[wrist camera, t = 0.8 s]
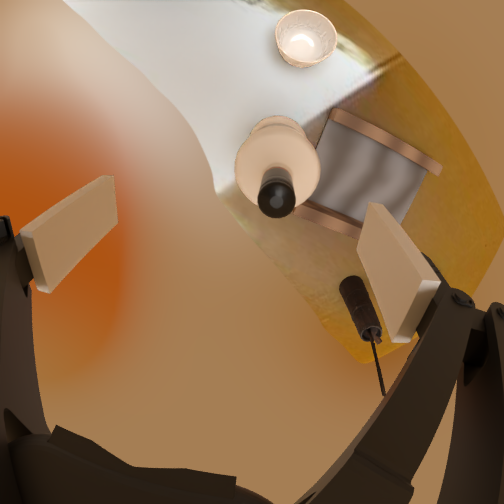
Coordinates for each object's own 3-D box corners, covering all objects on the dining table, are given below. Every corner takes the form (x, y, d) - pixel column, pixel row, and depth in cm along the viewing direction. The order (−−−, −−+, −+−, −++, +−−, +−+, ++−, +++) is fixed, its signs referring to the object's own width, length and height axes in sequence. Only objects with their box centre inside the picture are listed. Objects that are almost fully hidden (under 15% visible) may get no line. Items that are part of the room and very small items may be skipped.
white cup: (335, 47, 37) (349, 34, 28) (305, 80, 40) (313, 74, 31) (295, 19, 35) (299, -1, 26) (265, 52, 38) (262, 39, 29)
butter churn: (382, 295, 58) (422, 405, 33) (341, 312, 61) (363, 427, 36) (370, 262, 54) (417, 376, 30) (326, 281, 57) (348, 402, 33)
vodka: (242, 124, 44) (188, 156, 18) (297, 109, 42) (328, 116, 16) (258, 176, 48) (233, 274, 22) (312, 163, 46) (355, 247, 20)
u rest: (292, 204, 50) (293, 214, 46) (332, 107, 42) (338, 108, 37) (387, 243, 52) (395, 255, 48) (429, 159, 43) (443, 166, 39)
